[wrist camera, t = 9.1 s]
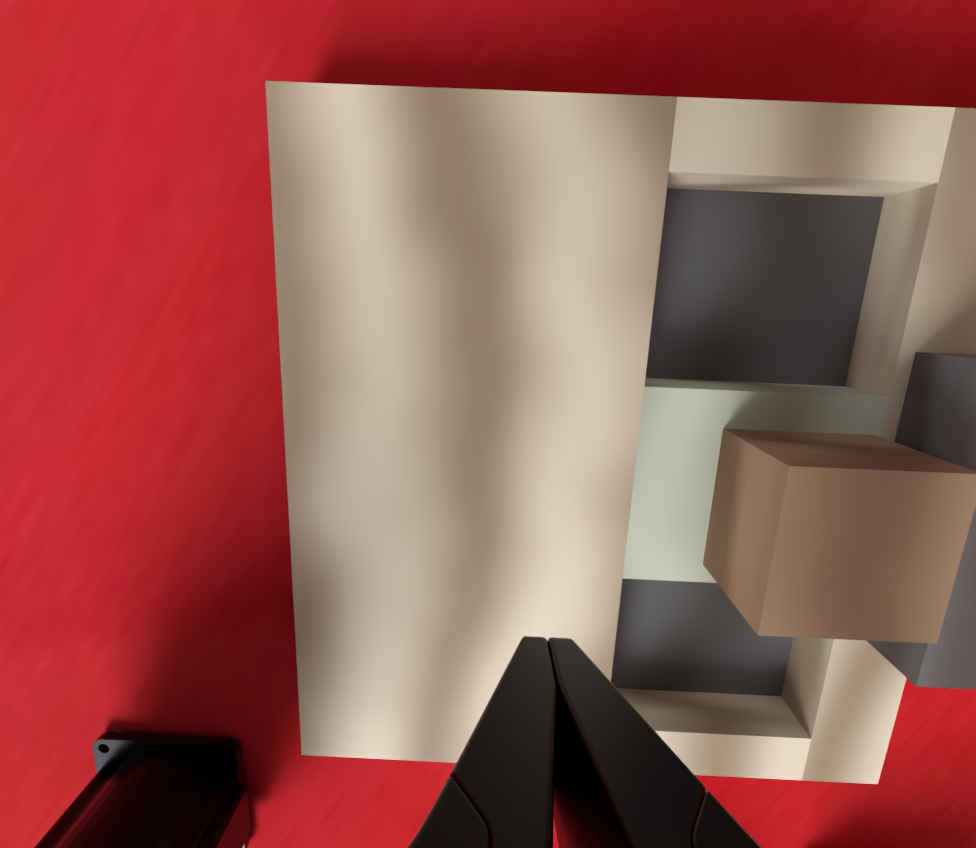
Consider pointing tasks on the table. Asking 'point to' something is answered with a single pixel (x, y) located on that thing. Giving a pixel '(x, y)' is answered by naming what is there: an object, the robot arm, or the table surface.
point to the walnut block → (837, 534)
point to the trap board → (601, 397)
